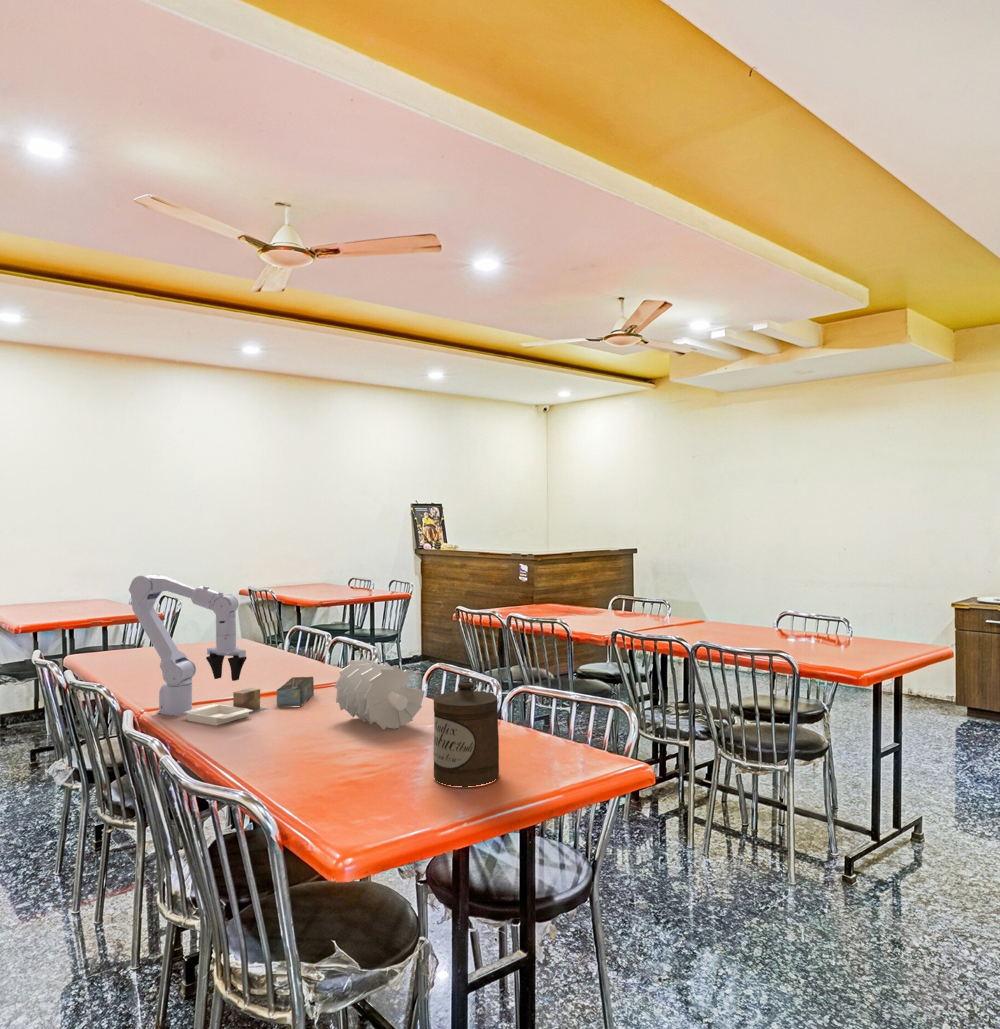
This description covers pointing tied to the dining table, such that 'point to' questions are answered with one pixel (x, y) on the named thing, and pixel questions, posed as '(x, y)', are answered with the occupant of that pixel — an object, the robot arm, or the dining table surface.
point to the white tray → (216, 714)
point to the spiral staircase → (377, 693)
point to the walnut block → (247, 699)
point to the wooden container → (466, 737)
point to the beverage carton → (295, 691)
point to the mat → (258, 710)
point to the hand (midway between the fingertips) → (226, 679)
